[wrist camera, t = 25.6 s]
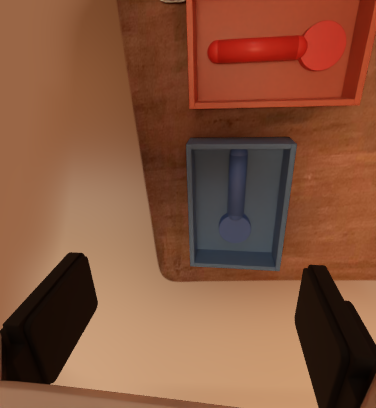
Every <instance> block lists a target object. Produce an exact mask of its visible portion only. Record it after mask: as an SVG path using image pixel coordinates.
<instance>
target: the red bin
mask: <svg viewBox="0 0 376 408" xmlns="http://www.w3.org/2000/svg"><path fill="white" fill-rule="evenodd" d="M186 14H187V48H188V83H189V109H218V108H262V107H305V106H349V105H360V101H361V97H362V92H363V88H364V83H365V79H366V74H367V70H368V65H369V60H370V56H371V51H372V47H373V42H374V38H375V33H376V0H186ZM325 20H331V21H335V22H337V23H339V24H340V25H341V26H342V27H343V29H344V31H345V33H346V47H345V51H344V53H343V55H342V57H341V58H340V59H339V61H338V62H337V63H336V64H334V65H333V66H332V67H330V68H328V69H326V70H322V71H309V70H306V69H305V68H303V67H302V66H301V65H300V63H299V61H298V60H287V61H264V62H241V63H218V64H217V63H213V62H211V61H210V59H209V58H208V55H207V50H208V47H209V45H210V44H211V43H212V42H213V41H215V40H222V39H240V38H258V37H276V36H294V35H300V36H302V35H303V33H304V32H305V31H306V30H307V29H308V28H310V27H311V26H313V25H314V24H316V23H318V22H321V21H325Z"/></svg>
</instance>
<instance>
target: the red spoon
mask: <svg viewBox="0 0 376 408" xmlns="http://www.w3.org/2000/svg"><path fill="white" fill-rule="evenodd" d="M345 47H346V33H345V31H344V29H343V27H342V26H341V25H340V24H339V23H337V22H335V21H331V20H325V21H321V22H318V23H316V24H314V25H313V26H311V27H310V28H308V29H307V30H306V31H305V32H304V33H303V35H302V36H300V35H294V36H276V37H258V38H240V39H222V40H215V41H213V42H212V43H211V44H210V45H209V47H208V50H207V55H208V58H209V59H210V61H211V62H213V63H217V64H218V63H241V62H264V61H287V60H298V61H299V63H300V65H301V66H302V67H303V68H305V69H306V70H309V71H322V70H326V69H328V68H330V67H332V66H333V65H334V64H336V63H337V62H338V61H339V59H340V58H341V57H342V55H343V53H344V51H345Z"/></svg>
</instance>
